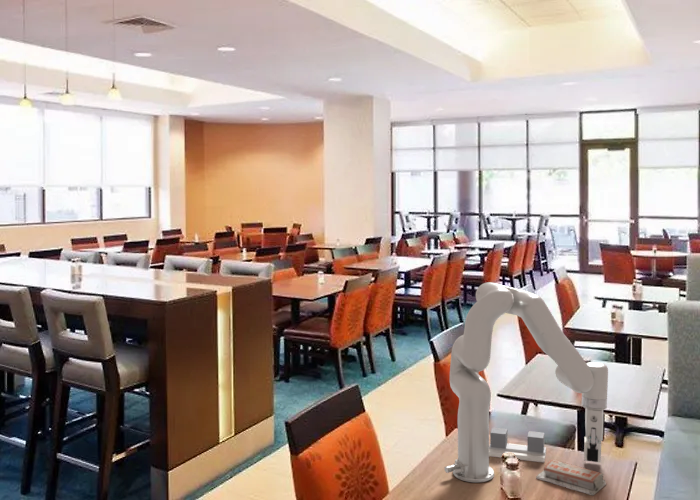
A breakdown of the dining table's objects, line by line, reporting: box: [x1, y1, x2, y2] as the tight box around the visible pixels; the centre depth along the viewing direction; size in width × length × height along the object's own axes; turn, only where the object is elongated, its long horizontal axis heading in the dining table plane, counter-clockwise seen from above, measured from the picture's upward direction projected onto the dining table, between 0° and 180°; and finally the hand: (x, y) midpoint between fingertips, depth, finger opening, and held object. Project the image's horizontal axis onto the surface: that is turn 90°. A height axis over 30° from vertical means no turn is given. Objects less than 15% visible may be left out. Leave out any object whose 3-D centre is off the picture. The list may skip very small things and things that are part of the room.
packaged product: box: [535, 459, 607, 496], centre depth 200 cm, size 18×5×10 cm
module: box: [583, 436, 602, 463], centre depth 211 cm, size 5×5×7 cm
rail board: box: [489, 426, 547, 463], centre depth 221 cm, size 18×9×7 cm, turn 70°
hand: (592, 456), depth 211 cm, fingers closed on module, 5 cm apart
